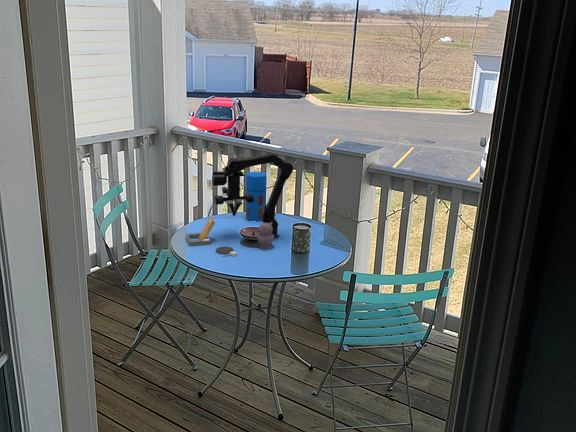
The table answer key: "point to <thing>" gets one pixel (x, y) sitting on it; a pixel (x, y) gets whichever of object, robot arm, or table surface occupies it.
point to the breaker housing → (197, 242)
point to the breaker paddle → (207, 228)
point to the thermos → (255, 195)
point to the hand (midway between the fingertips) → (233, 215)
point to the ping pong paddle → (226, 251)
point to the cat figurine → (265, 236)
